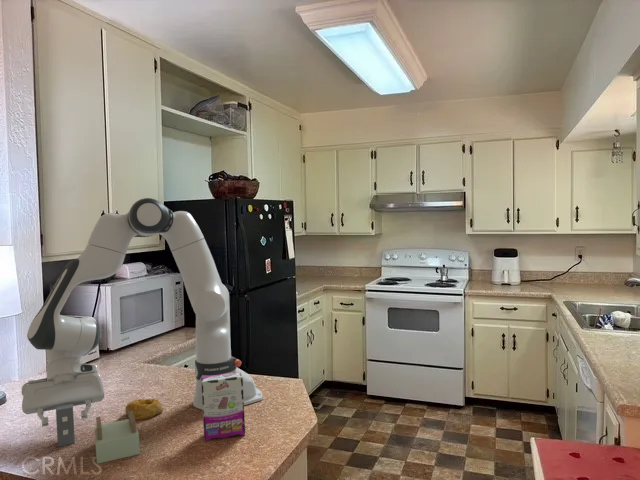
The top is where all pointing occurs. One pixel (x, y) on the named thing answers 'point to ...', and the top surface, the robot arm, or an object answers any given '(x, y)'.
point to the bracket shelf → (116, 439)
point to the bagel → (144, 408)
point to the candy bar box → (223, 406)
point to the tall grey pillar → (65, 424)
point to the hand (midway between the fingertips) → (65, 421)
